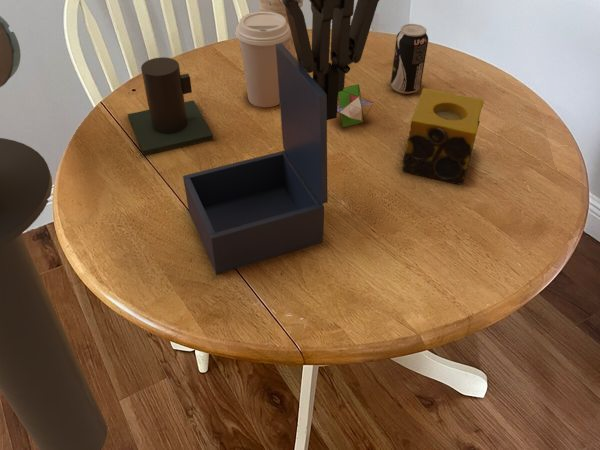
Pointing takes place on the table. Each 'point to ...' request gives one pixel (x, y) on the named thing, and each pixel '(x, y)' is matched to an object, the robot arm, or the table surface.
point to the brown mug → (166, 94)
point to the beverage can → (409, 58)
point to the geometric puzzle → (351, 105)
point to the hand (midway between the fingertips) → (327, 113)
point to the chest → (253, 210)
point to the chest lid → (303, 121)
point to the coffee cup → (262, 54)
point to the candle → (442, 135)
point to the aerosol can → (272, 4)
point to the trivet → (160, 142)
